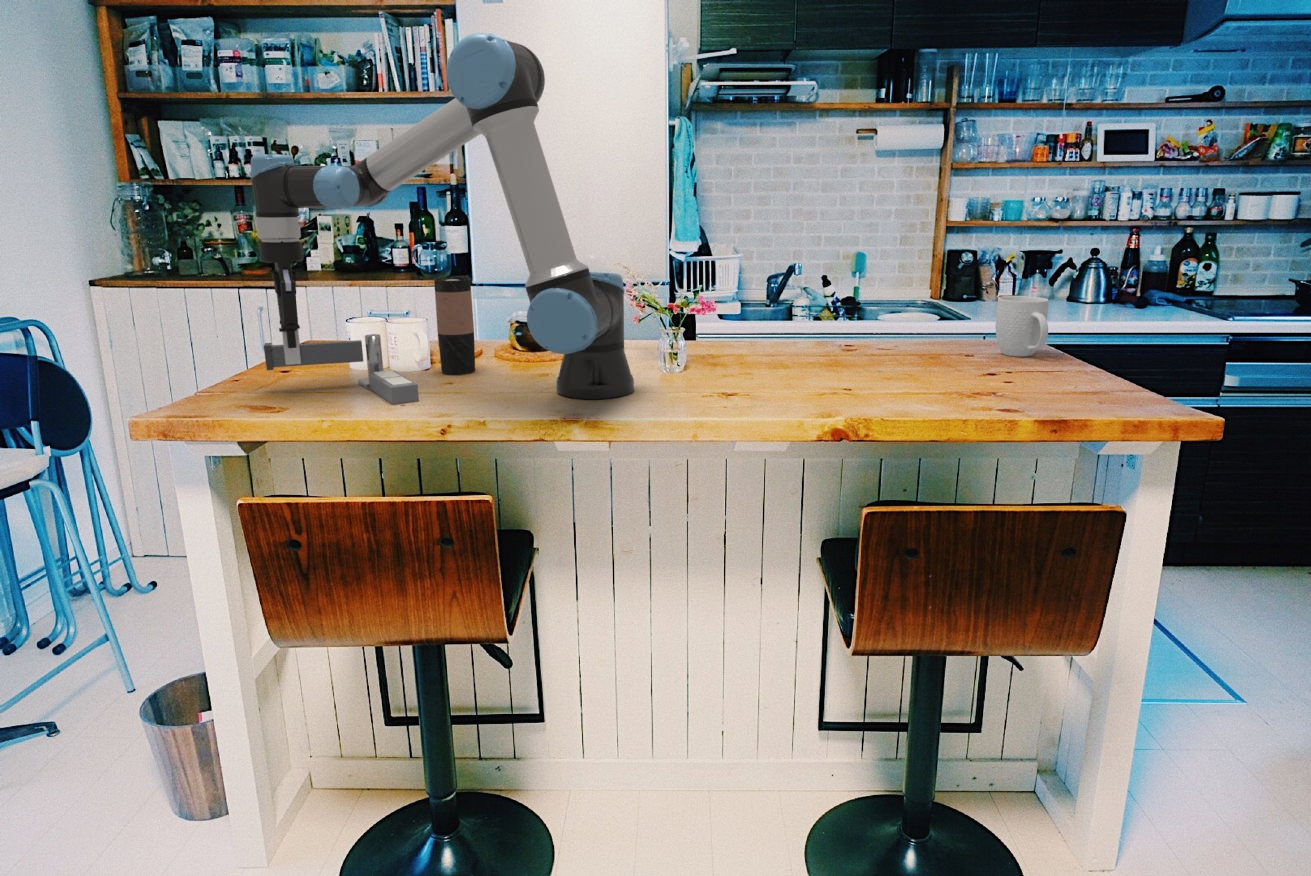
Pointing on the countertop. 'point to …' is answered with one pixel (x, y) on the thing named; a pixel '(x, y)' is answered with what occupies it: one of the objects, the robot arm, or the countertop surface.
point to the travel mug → (455, 325)
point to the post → (372, 357)
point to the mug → (1021, 324)
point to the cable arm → (316, 353)
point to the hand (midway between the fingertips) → (293, 363)
